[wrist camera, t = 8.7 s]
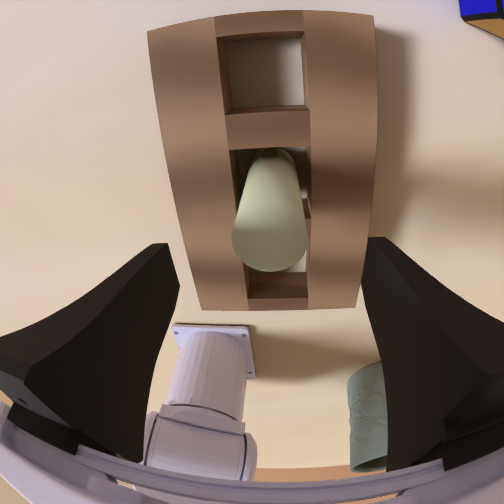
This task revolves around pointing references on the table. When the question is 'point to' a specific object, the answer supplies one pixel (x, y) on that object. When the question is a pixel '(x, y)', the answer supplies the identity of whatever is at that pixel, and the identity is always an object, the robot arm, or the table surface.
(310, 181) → the hole block
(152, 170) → the table surface
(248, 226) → the sage peg
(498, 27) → the puzzle cube
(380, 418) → the green cup
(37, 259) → the table surface
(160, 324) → the robot arm
